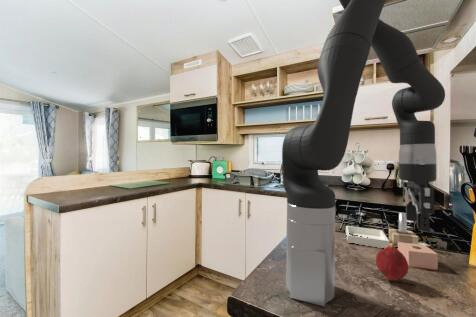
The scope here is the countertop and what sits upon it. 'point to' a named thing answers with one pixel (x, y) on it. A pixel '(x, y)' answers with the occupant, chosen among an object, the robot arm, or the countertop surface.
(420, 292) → the countertop surface
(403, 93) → the robot arm
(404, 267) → the onion
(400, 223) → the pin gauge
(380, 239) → the tray
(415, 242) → the oak block
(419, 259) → the terracotta block
